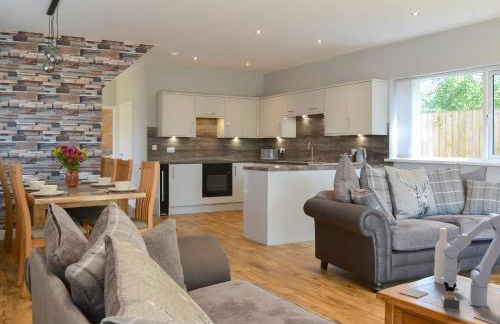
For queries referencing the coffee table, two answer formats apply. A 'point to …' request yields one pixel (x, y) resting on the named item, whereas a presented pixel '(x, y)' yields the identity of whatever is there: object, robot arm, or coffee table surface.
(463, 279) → the coffee table surface
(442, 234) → the bottle
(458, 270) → the wine glass
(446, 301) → the endcap rail
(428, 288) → the coffee table surface
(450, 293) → the tan wooden block
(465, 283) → the coffee table surface
